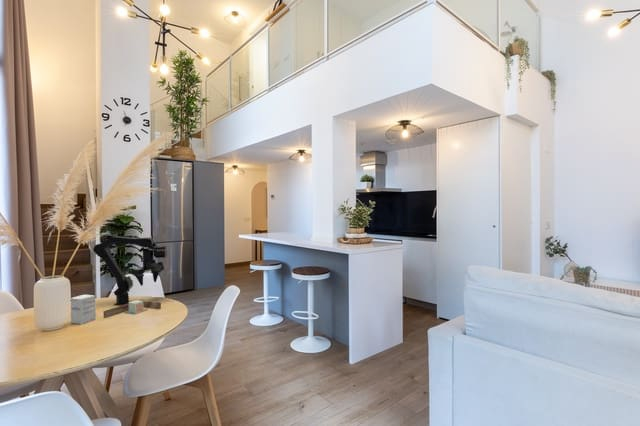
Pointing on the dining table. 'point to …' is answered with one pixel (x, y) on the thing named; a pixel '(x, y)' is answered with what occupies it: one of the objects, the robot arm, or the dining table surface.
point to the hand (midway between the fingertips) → (148, 283)
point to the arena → (126, 307)
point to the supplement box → (82, 309)
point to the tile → (136, 312)
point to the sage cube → (136, 306)
